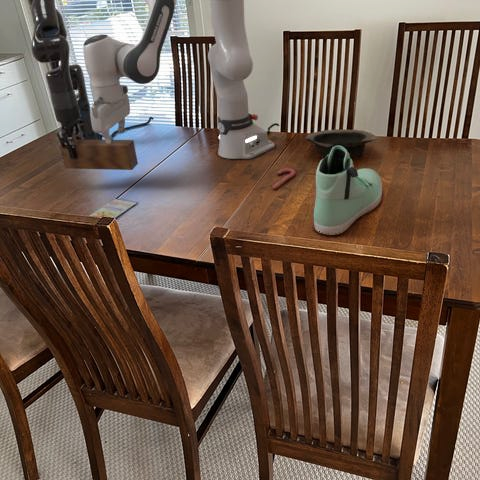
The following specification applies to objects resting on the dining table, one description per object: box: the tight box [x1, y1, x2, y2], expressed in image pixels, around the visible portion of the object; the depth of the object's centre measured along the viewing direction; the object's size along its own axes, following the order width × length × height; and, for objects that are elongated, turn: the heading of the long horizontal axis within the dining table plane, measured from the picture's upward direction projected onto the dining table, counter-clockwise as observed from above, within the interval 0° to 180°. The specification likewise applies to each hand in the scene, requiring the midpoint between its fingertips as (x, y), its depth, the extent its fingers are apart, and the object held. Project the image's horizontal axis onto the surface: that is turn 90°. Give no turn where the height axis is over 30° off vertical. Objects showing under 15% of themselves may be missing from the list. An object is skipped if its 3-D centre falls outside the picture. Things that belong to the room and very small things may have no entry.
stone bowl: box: [304, 128, 378, 159], centre depth 171 cm, size 25×25×9 cm
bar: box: [58, 139, 139, 171], centre depth 157 cm, size 24×5×8 cm, turn 78°
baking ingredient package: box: [88, 198, 137, 219], centre depth 147 cm, size 9×1×15 cm
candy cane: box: [272, 167, 296, 190], centre depth 158 cm, size 6×15×2 cm, turn 145°
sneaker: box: [313, 146, 383, 236], centre depth 133 cm, size 14×35×20 cm, turn 152°
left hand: (78, 155), depth 159 cm, fingers closed on bar, 5 cm apart
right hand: (115, 137), depth 152 cm, fingers open, 8 cm apart
